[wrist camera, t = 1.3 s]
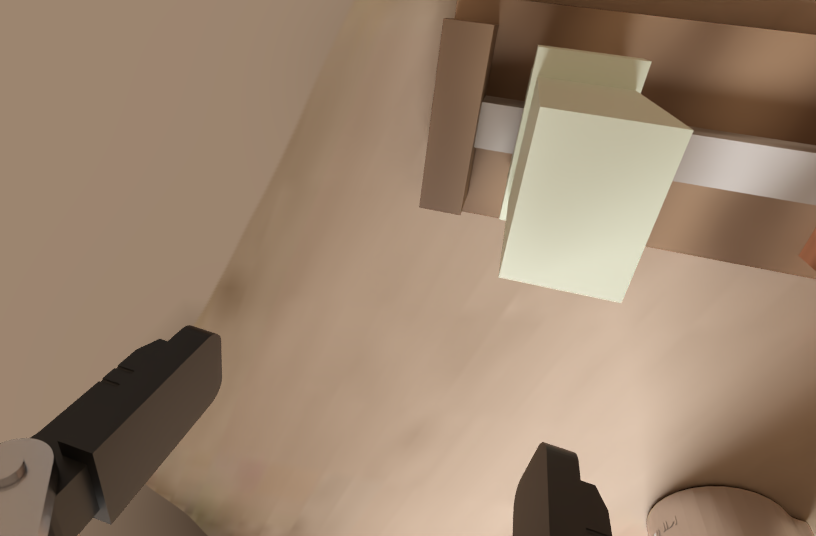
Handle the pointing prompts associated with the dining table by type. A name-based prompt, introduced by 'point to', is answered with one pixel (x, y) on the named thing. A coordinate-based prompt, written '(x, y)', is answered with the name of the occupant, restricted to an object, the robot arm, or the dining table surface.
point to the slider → (586, 173)
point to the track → (666, 87)
